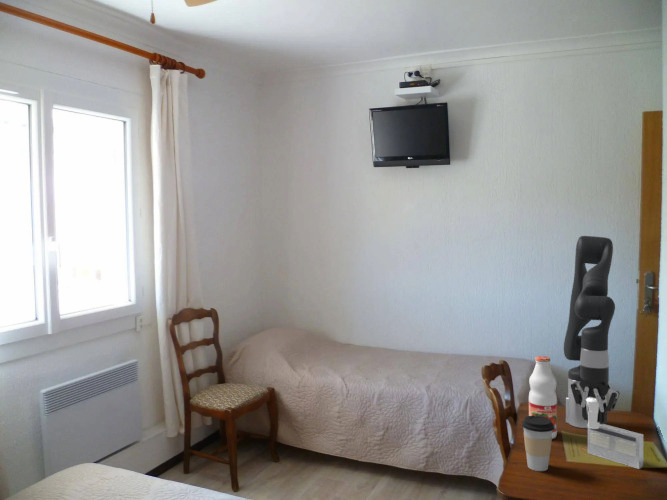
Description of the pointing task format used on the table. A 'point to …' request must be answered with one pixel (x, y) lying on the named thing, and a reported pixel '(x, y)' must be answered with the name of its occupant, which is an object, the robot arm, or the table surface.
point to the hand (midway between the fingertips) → (594, 421)
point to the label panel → (616, 445)
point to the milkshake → (592, 413)
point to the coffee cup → (537, 441)
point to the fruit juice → (543, 392)
